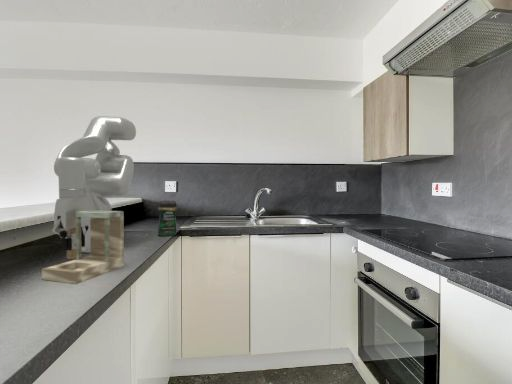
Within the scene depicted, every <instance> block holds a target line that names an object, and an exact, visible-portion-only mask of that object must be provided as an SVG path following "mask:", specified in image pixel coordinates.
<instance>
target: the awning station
mask: <svg viewBox="0 0 512 384" xmlns="http://www.w3.org/2000/svg"><path fill="white" fill-rule="evenodd" d="M124 215H125V214H124V211H123V210H111V211H101V210H91V211H81V212H76V258H75V259H71V260H69V261H65V262H62V263H59V264H54V265H51V266H47V267H44V268H42V269H41V280H42V281H51V282H58V283H67V284H75V285H76V284H79V283H82V282H84V281H88V280H91V279H93V278H95V277H98V276H100V275H103V274H106V273H109V272H112V271H114V270H116V269H119V268H123V267H124V266H125V265H124V264H125V259H124V258H125V254H124V253H125V248H124V247H125V246H124V245H125V244H124V243H125V242H124V239H125V238H124V237H125V234H124V233H125V232H124V229H125V228H124V224H125V223H124V222H125V221H124V220H125V219H124V218H125V216H124ZM81 217H90V241H91V253H90V255H88V256H87V255H86V256H84V257H82V256H81V253H82V252H81V248H82V247H81Z"/></svg>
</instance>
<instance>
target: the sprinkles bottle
mask: <svg viewBox="0 0 512 384" xmlns="http://www.w3.org/2000/svg"><path fill="white" fill-rule="evenodd" d="M70 238H71V239H72V249H71V250H66V259H68V260H69V259H70V260H76V228H73V229H71V233H70ZM82 253H83V252H81V257H82V255H83V254H82Z"/></svg>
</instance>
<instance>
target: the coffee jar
mask: <svg viewBox="0 0 512 384" xmlns="http://www.w3.org/2000/svg"><path fill="white" fill-rule="evenodd" d="M177 207H178V206H177V202H176V200H160V201H159V202H158V207H157V210H158V213H159V218H158V219H159V220H158V227H157V228H158V229H157V235H158V236H159V235H160V237H172V236H173V237H174V236H176V235H177V233H178V230H177V221H176V220H177V217H176V215H177V214H176V213H177V210H178V208H177Z"/></svg>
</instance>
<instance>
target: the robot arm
mask: <svg viewBox="0 0 512 384" xmlns="http://www.w3.org/2000/svg"><path fill="white" fill-rule="evenodd" d="M136 135H137V128H136V125H135V124H134V123H133V122H132V121H131V120H129V119H127V118H125V117H121V116H103V115H99V116H96V117H95V116H94V117H93V118H92V119H91V120H90V122H89V124H88V126H87V127H86V130H85V132H84V133H83V136H82V137H80V138H78V139H76V140H74V141H72V142H70V143H69V144H66V145H65V146H64V147H63V148H62V149H61V150H60V151H59V153H58V155H57V156H56V158H55V161H54V164H53V171H54V174H55V175H56V176H57V177H58V196H59V197H58V198H57V199H55V206H54V212H53V213H54V214H53V216H54V217H53V227H52V230H51V231H52V233H54V234H56V235H57V236H59V238H60V239H62V240H61V241H62V245H61V246H62V250H63V251H67V250H71V249H72V239H71V238H70V233H71V229H73V228H76V212H81V211H91V210H101V211H112V206H111V204H110V201H109V200H108V199H107V198H106V197H118V196H119V197H123V196H125V195H127V194H128V193H129V190H130V186H131V183H132V179H133V176H134V171H135V170H134V169H135V165H134V164H135V163H134V161H133V159H132V157H131V156H129V155H127V154H121V151H120V149H119V147H118V146H117V144H115V143H114V142H113V141H132V140H134V139H135V138H136ZM92 155H96V156H95V158H92V157H89V156H92ZM81 253H84V254H85V253H87V254H89V253H90V254H91V241H90V217H81Z"/></svg>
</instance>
